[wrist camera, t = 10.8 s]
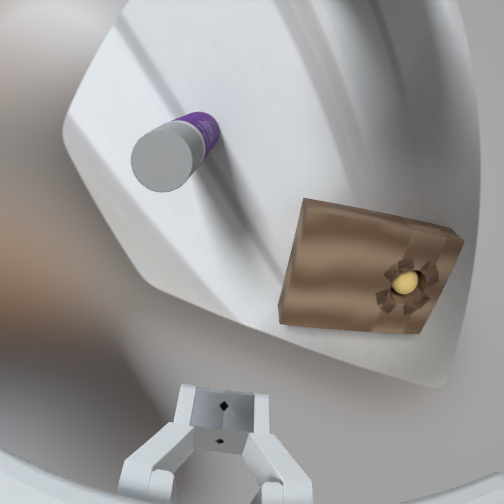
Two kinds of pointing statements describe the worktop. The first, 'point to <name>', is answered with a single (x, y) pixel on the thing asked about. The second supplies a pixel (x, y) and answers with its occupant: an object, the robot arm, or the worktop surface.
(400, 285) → the ball
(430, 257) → the board
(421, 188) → the worktop surface
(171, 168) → the container
